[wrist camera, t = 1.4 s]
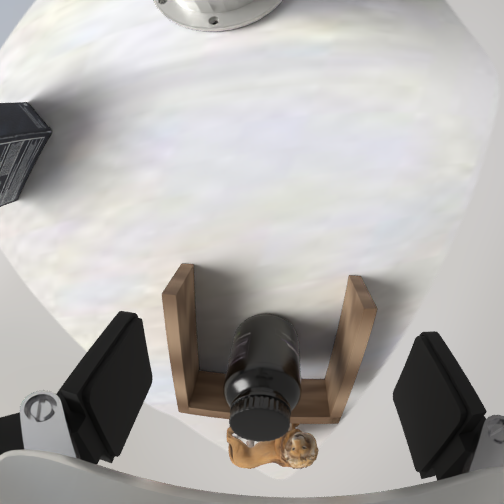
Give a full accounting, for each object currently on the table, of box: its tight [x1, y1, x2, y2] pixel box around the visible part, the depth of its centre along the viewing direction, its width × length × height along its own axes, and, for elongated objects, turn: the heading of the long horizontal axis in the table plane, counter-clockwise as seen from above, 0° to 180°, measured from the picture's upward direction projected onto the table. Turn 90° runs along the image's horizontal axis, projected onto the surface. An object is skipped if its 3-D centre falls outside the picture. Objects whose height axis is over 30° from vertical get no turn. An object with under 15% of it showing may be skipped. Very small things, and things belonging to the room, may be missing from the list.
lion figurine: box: [227, 423, 318, 469], centre depth 34 cm, size 15×5×9 cm, turn 129°
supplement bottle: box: [223, 314, 302, 442], centre depth 27 cm, size 7×7×12 cm
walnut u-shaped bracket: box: [162, 264, 377, 424], centre depth 29 cm, size 15×17×6 cm
